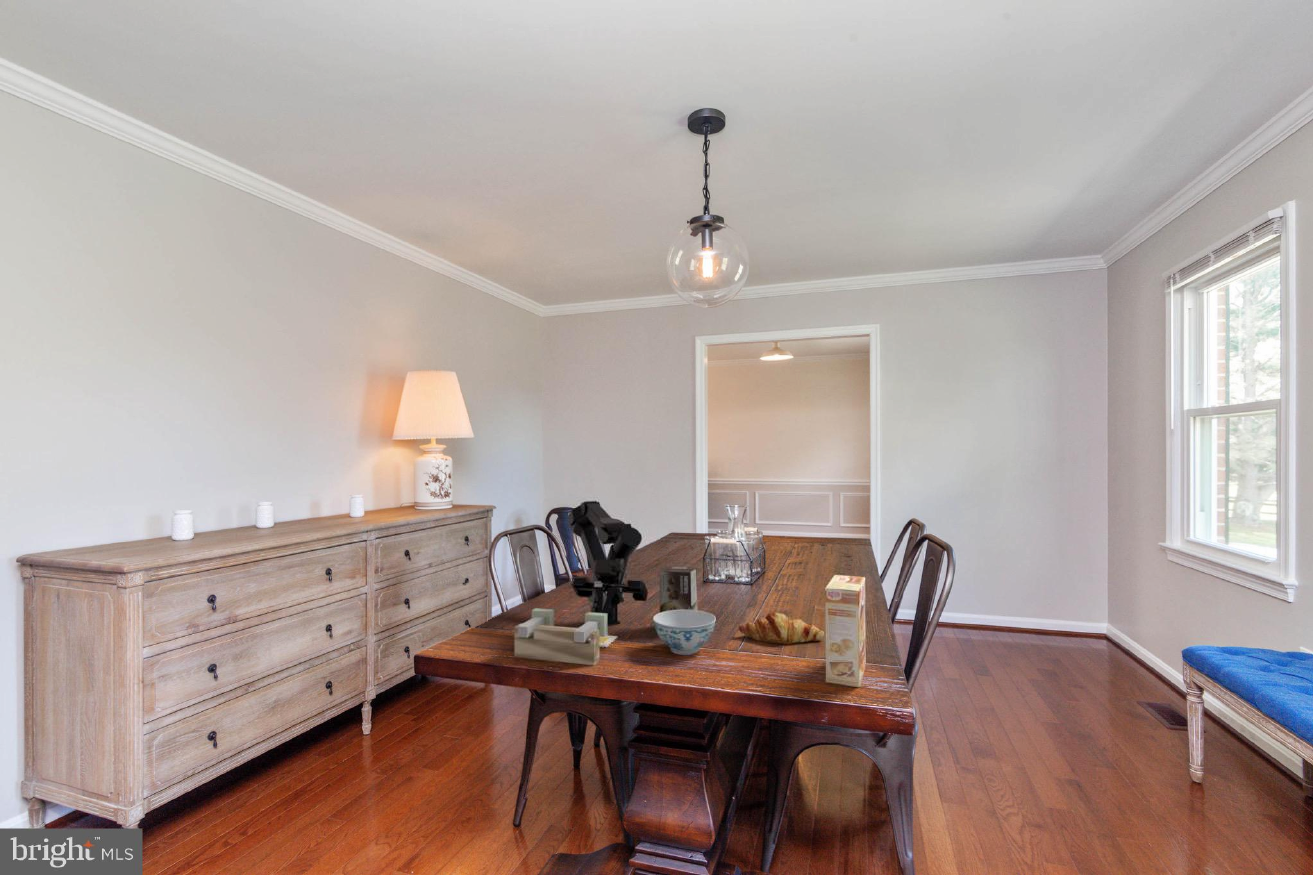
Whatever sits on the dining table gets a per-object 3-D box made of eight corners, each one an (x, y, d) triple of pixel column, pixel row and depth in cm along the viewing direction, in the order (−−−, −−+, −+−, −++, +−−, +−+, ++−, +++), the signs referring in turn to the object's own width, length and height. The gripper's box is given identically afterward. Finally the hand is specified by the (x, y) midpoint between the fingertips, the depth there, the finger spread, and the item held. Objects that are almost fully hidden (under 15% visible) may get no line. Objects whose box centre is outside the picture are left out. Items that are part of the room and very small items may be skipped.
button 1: (535, 628, 154) (535, 608, 154) (554, 630, 152) (553, 609, 153) (512, 642, 143) (512, 620, 143) (532, 643, 142) (532, 621, 142)
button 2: (588, 632, 150) (588, 612, 150) (607, 634, 148) (607, 613, 149) (568, 647, 139) (568, 624, 139) (589, 649, 138) (589, 626, 138)
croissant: (822, 651, 158) (821, 619, 162) (827, 643, 149) (825, 610, 153) (738, 646, 161) (739, 615, 165) (738, 638, 152) (738, 605, 156)
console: (521, 652, 148) (520, 623, 148) (599, 660, 142) (599, 629, 142) (514, 657, 145) (514, 626, 145) (594, 665, 139) (594, 633, 139)
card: (574, 634, 162) (574, 631, 162) (617, 637, 159) (617, 635, 159) (560, 643, 155) (560, 641, 155) (605, 647, 151) (605, 645, 151)
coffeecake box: (860, 688, 125) (859, 590, 125) (824, 682, 128) (823, 587, 128) (867, 663, 139) (866, 576, 139) (834, 659, 142) (833, 573, 142)
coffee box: (698, 627, 168) (698, 567, 168) (692, 634, 162) (691, 571, 162) (666, 624, 171) (665, 565, 171) (658, 631, 164) (658, 569, 165)
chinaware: (676, 665, 139) (675, 630, 139) (641, 647, 151) (641, 615, 152) (729, 653, 147) (728, 620, 147) (692, 636, 159) (691, 606, 160)
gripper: (574, 544, 159) (555, 598, 148) (644, 547, 154) (630, 603, 143) (586, 569, 166) (569, 622, 155) (653, 573, 161) (640, 628, 150)
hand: (601, 618), depth 151 cm, fingers closed
